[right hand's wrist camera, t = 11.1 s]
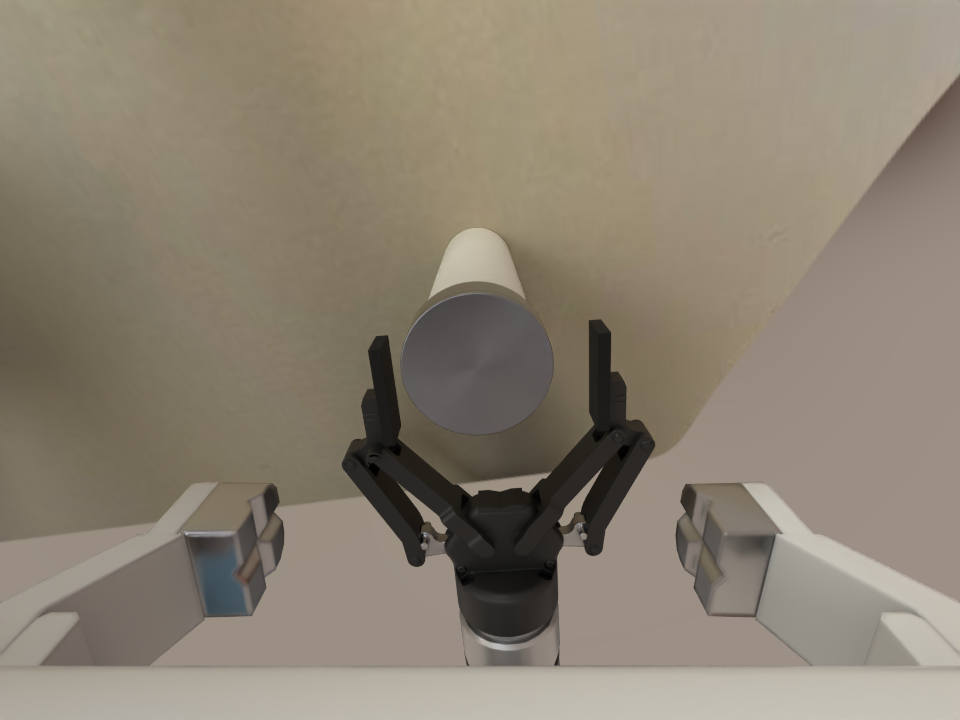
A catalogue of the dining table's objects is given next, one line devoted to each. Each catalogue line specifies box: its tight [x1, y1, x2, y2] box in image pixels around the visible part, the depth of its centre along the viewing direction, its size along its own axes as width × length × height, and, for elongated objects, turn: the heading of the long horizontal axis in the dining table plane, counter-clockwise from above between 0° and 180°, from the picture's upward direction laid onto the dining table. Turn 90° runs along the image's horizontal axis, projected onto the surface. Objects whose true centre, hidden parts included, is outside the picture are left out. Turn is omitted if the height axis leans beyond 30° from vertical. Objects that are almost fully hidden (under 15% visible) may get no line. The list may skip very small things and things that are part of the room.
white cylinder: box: [428, 228, 526, 300], centre depth 27 cm, size 5×5×20 cm
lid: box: [401, 281, 554, 435], centre depth 19 cm, size 5×5×2 cm
